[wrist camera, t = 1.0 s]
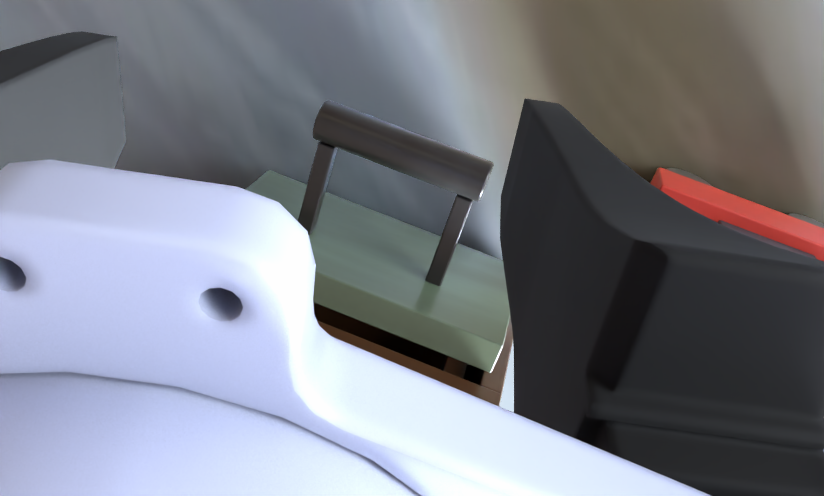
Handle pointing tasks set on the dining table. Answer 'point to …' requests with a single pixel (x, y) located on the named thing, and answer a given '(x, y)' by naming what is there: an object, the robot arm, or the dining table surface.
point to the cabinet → (473, 382)
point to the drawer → (398, 249)
